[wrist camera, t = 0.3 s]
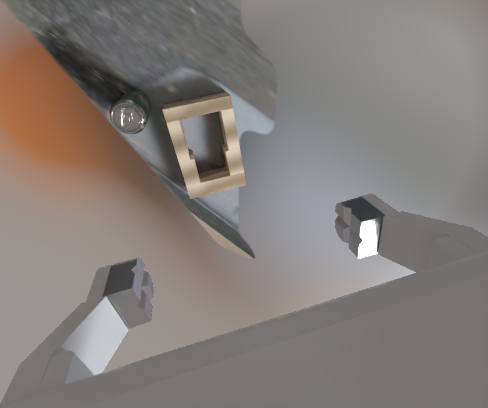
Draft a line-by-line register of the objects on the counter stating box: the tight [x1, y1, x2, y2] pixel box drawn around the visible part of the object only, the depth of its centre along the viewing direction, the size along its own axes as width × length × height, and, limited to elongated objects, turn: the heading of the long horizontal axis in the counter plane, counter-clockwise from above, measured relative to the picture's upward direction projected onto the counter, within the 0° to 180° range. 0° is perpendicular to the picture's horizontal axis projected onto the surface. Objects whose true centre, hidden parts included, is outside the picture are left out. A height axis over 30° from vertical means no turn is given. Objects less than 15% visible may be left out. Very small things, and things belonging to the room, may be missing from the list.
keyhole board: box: [162, 92, 246, 199], centre depth 53 cm, size 18×12×5 cm, turn 9°
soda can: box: [110, 90, 151, 134], centre depth 43 cm, size 5×5×12 cm
